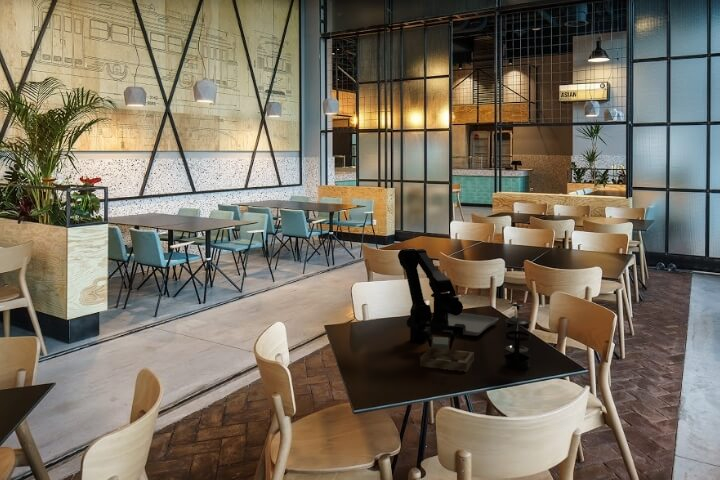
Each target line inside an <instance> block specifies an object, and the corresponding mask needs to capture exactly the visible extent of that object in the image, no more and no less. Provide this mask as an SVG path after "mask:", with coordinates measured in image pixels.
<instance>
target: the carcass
mask: <svg viewBox="0 0 720 480" xmlns="http://www.w3.org/2000/svg"><path fill="white" fill-rule="evenodd" d="M419 360H420V362H419V363H420V364H419V365H420V367H425V368H432V369H439V368H440V370H447V369H448V370H449V371H455V370H457V371H456V372H462V371H464V373H467V372H468V371H469V369H470V367H471V366H472V364H473V363H474V361H475V352H473V351H465V350H456V349H451V350H450V348H448V349H440V348H432V347H430V346H429V348H428V349H427V350H426V351H425V352H424V353H423V354H422V355H421V357H420V359H419Z"/></svg>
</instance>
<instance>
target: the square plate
mask: <svg viewBox="0 0 720 480" xmlns="http://www.w3.org/2000/svg"><path fill="white" fill-rule="evenodd" d="M499 319H500V318H499V317H494V316H489V315H487V316H486V315H480V314H474V313H466V312H461V314H459V315H457V316H455V315H452V314H448V321H449V326H454V325H455V324H464V325H465V326H466V331H465V333H464V334H463V335H462V336H473V337H476V336H477V337H478V336H479V335H481V333H483V332H484V331H486V329H488V328H489V327H491V326H492V325H494V324H495V323H497V322H498V320H499ZM447 332H448V333H450V334H451V333H452V331H449V330H443V332H442V333H447Z"/></svg>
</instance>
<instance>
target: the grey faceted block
mask: <svg viewBox="0 0 720 480" xmlns="http://www.w3.org/2000/svg"><path fill="white" fill-rule="evenodd" d="M449 341H450V340H449V337H441V336H432V347H431V348H440V349H449Z"/></svg>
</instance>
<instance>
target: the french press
mask: <svg viewBox="0 0 720 480" xmlns="http://www.w3.org/2000/svg"><path fill="white" fill-rule="evenodd" d="M511 306H513V307H515V308H516V310H517V313H516V314H517V316H516V317H507V318H505V319H504V322H505V327H506V328H512V327H513V326H516V329H514V330H507V331H505V332H504V341H503V342H504V344H503V345H504V346H503V347H504V349H503V363H502V365H503V366H504V367H503V368H506V369H509V370H513V371H525V370H529V369H530V367H531V365H530V356H531V355H530V354H531V353H530V352H531V349H530V348H531V334H530V333H528V332H527V331H523V330H520V329H519V326H521V327H523V329H525V330H529V328H530V324H531V322H532V321H531V320H529V319H528V318H523V317H519V314H520V313H519V311H520V308H522V307H525V305H524V304H523V303H512V304H511ZM511 335H514V336H511ZM521 335H522V336H524V337H521ZM506 339H507V340H509V341H514V345H507V346H506ZM526 341H528V347H526V346H523V345H521V344H520V343H521V342H526ZM506 352H507V353H506ZM527 354H528V355H527Z"/></svg>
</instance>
